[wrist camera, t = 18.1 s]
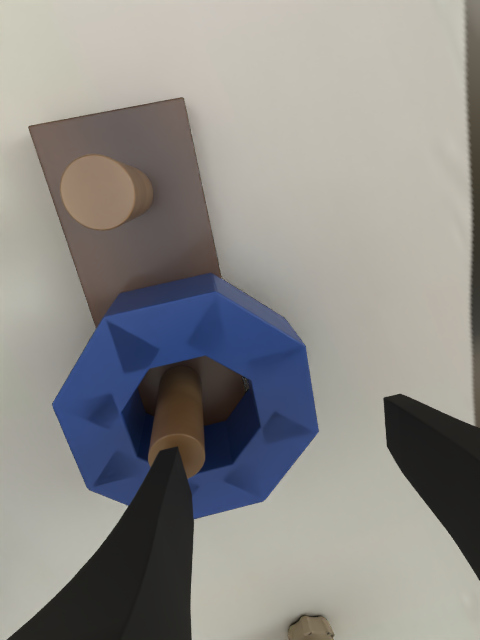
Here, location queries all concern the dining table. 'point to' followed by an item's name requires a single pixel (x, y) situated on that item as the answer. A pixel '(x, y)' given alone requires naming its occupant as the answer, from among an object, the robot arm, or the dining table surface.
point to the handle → (311, 629)
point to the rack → (141, 244)
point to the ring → (178, 345)
